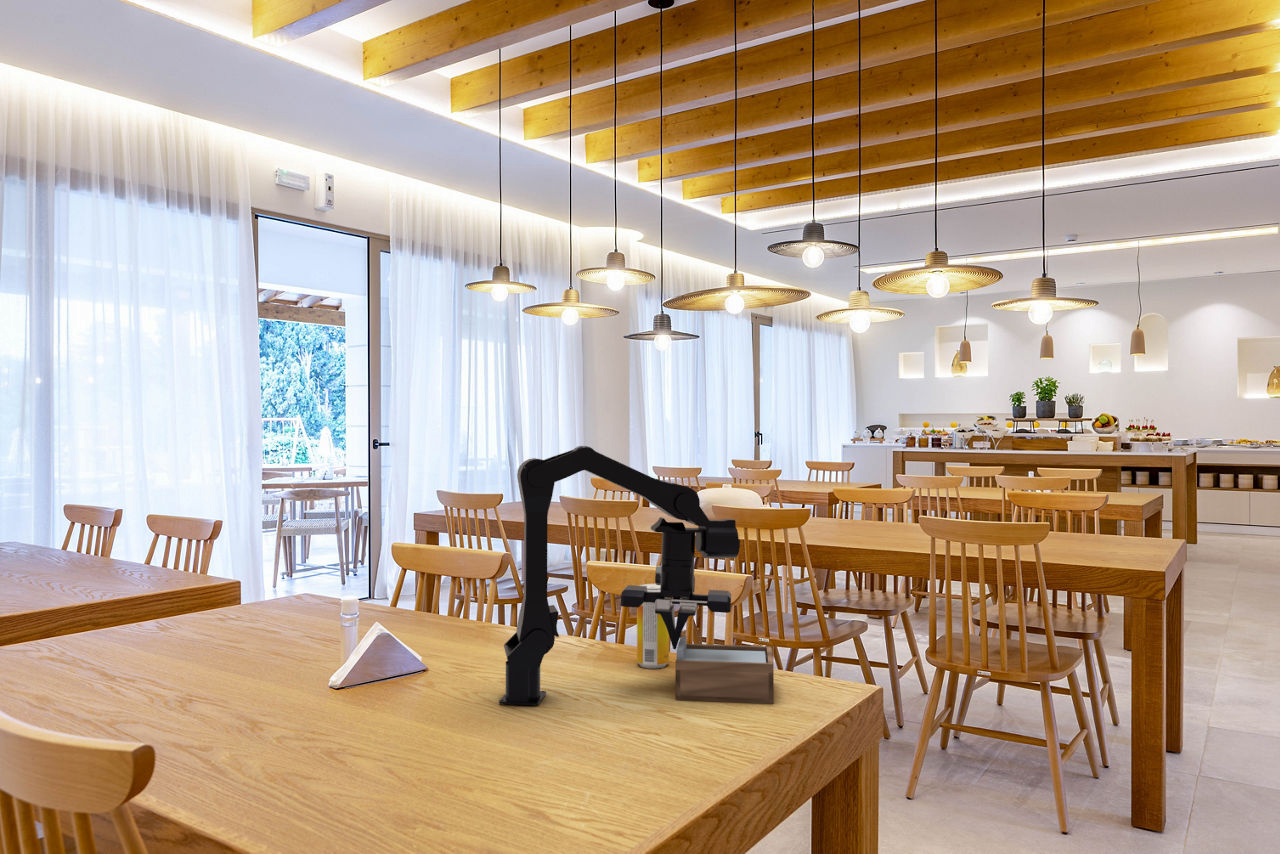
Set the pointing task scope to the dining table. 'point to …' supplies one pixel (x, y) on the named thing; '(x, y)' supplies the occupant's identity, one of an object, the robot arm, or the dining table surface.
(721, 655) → the lid
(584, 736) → the dining table surface
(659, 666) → the beer can
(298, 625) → the dining table surface
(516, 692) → the robot arm
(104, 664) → the dining table surface
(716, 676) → the walnut box
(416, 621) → the dining table surface
